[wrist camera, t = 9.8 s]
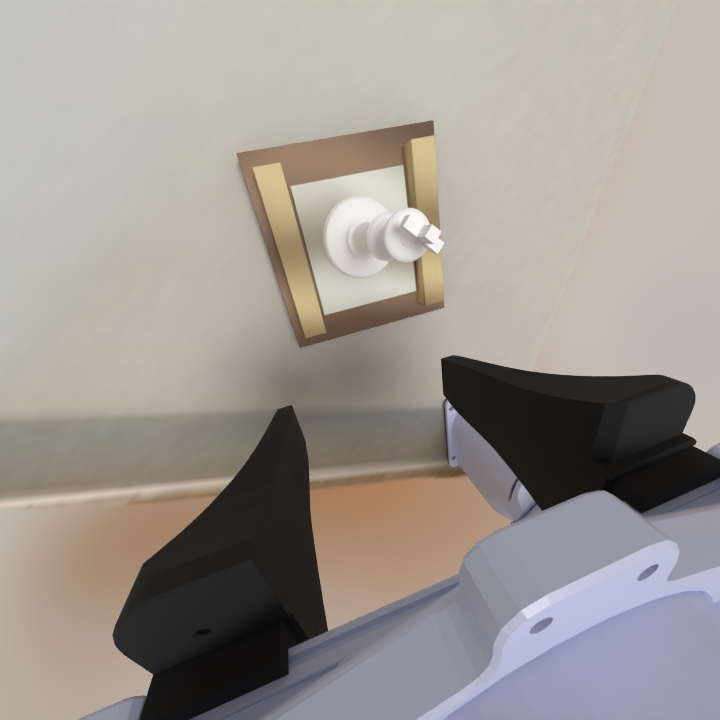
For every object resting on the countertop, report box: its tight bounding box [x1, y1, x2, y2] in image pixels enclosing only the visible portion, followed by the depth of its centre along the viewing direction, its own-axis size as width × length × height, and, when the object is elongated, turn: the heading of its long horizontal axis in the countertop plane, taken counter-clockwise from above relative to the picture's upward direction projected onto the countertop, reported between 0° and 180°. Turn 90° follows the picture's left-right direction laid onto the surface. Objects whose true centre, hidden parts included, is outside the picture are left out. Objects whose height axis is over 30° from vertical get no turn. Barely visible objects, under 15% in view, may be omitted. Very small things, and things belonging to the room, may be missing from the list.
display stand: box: [236, 121, 444, 348], centre depth 18 cm, size 12×12×2 cm
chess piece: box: [323, 196, 444, 278], centre depth 13 cm, size 5×5×10 cm
